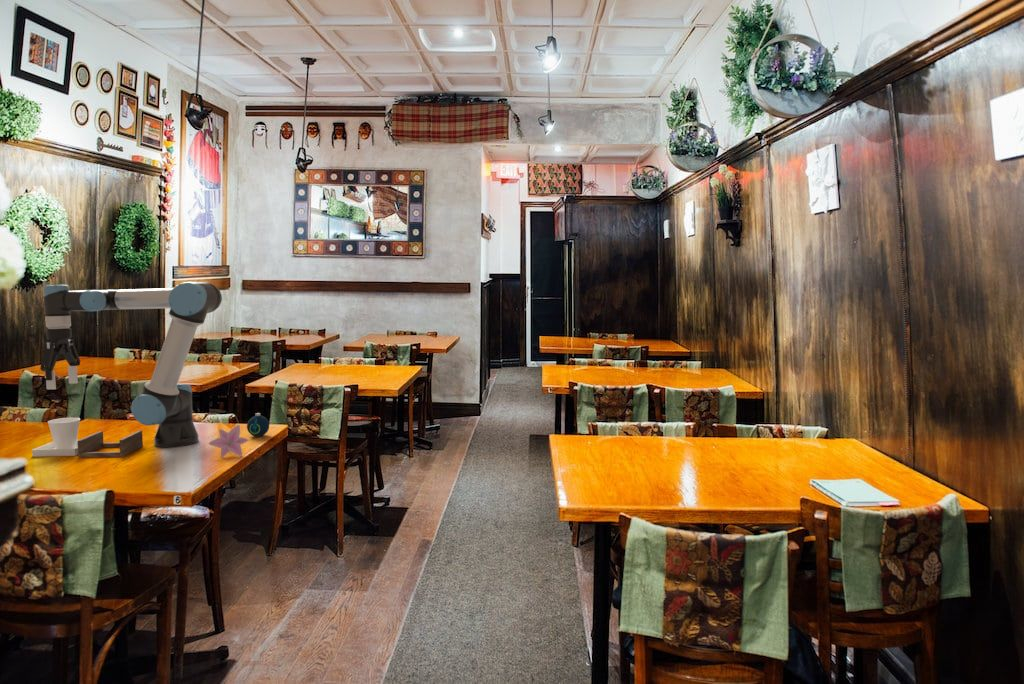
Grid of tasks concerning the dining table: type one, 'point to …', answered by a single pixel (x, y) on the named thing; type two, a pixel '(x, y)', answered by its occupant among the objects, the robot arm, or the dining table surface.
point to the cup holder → (108, 445)
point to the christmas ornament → (258, 425)
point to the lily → (229, 441)
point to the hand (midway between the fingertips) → (62, 386)
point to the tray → (54, 451)
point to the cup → (64, 432)
